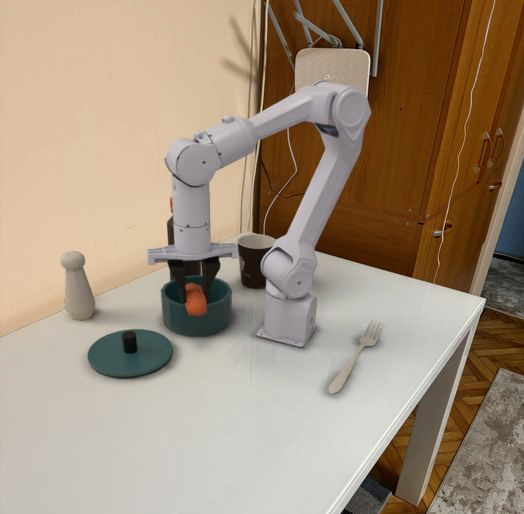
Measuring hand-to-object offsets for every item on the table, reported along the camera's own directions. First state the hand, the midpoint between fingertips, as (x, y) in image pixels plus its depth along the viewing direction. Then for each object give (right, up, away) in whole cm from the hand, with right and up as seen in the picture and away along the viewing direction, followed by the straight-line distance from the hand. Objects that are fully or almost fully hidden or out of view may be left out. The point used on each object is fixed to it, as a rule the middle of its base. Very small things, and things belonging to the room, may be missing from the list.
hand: (194, 299), depth 86 cm
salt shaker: (-24, -2, +15) cm, 28 cm away
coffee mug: (+10, +6, +32) cm, 34 cm away
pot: (-1, -3, +15) cm, 15 cm away
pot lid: (-12, -9, +3) cm, 15 cm away
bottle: (-5, +4, +27) cm, 28 cm away
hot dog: (0, -1, +1) cm, 1 cm away
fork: (+28, -10, +5) cm, 31 cm away
